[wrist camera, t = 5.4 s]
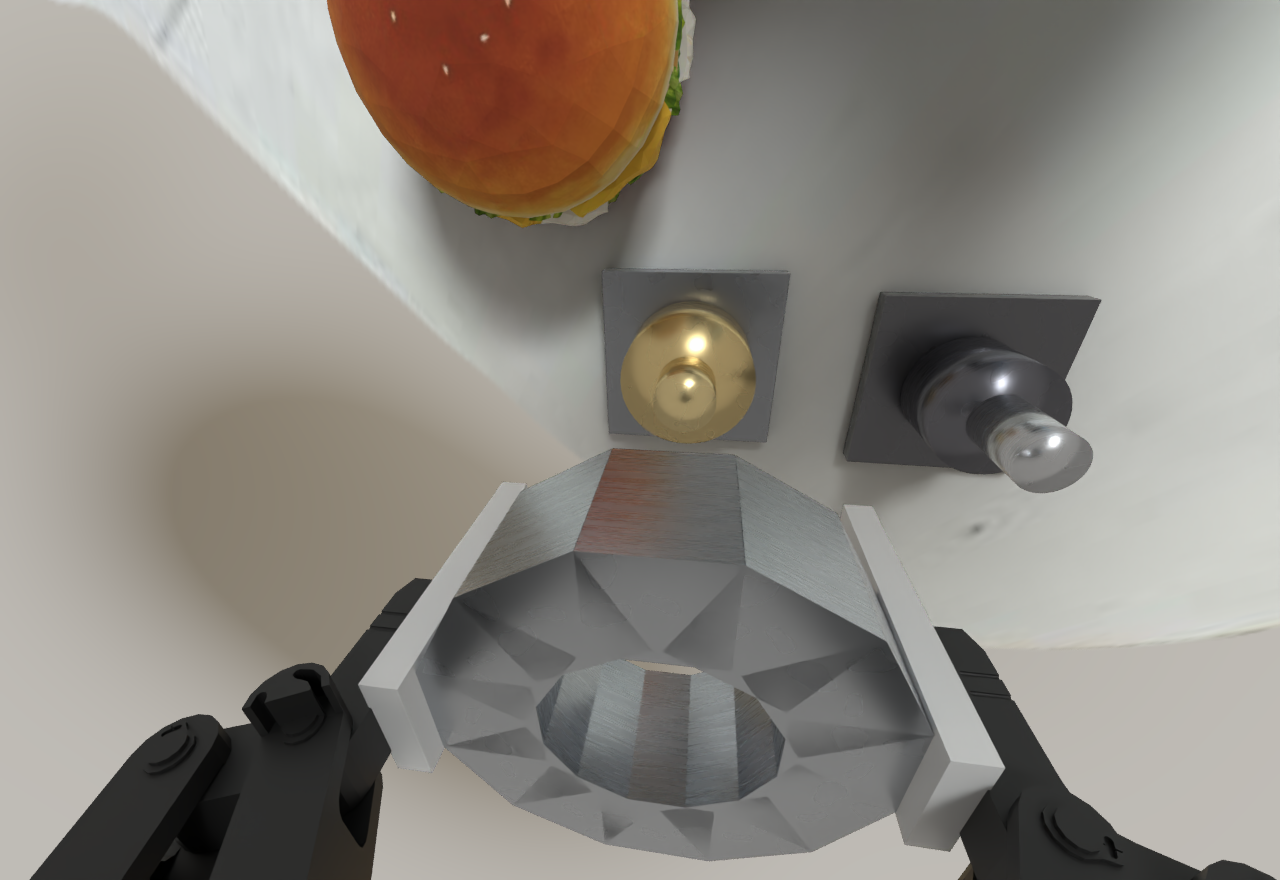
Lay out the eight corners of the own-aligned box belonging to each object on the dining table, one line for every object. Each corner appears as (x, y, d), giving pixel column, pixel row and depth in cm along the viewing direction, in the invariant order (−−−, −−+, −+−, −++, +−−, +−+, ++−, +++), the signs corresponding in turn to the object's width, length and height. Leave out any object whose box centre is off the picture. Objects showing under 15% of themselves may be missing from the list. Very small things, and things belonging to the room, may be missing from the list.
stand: (880, 291, 25) (958, 339, 17) (1087, 295, 24) (1273, 348, 16) (843, 453, 30) (890, 548, 22) (1013, 463, 28) (1128, 568, 21)
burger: (681, -187, 18) (652, -542, 9) (709, 203, 24) (708, 211, 15) (378, -87, 20) (130, -292, 12) (473, 242, 27) (358, 267, 18)
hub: (605, 268, 26) (573, 292, 20) (787, 271, 25) (812, 297, 19) (611, 426, 31) (587, 484, 25) (764, 434, 30) (778, 498, 24)
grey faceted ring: (457, 440, 10) (362, 532, 7) (917, 465, 8) (1009, 587, 6) (517, 703, 14) (472, 822, 11) (829, 743, 13) (859, 886, 10)
